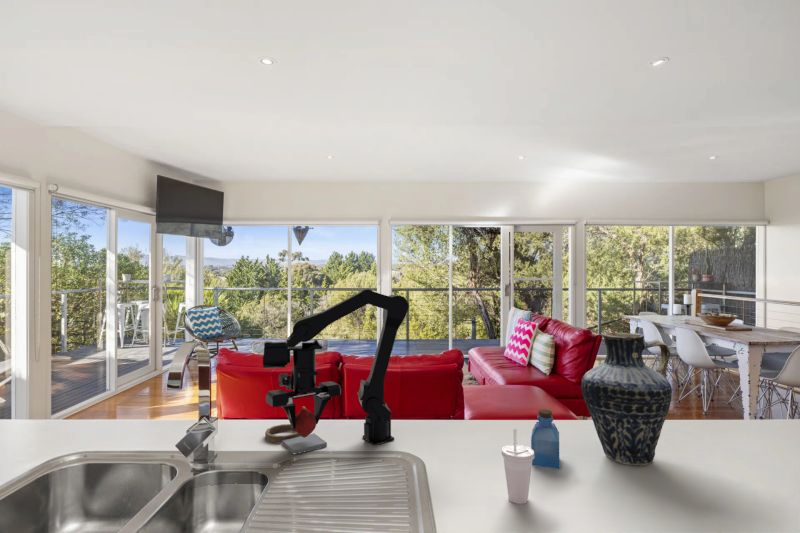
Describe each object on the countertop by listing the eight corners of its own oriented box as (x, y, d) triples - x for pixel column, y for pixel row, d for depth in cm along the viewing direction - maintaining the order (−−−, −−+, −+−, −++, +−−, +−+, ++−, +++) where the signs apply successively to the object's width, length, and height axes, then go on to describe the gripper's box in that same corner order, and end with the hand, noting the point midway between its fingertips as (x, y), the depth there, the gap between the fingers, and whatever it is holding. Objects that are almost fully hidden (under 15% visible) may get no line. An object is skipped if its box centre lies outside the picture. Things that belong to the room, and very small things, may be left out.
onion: (318, 433, 120) (318, 403, 121) (312, 441, 115) (312, 410, 115) (297, 432, 121) (297, 403, 121) (290, 441, 115) (289, 409, 115)
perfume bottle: (559, 458, 109) (558, 408, 109) (559, 469, 103) (559, 416, 103) (532, 454, 111) (532, 406, 111) (531, 465, 105) (530, 413, 106)
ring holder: (294, 427, 131) (294, 421, 131) (307, 437, 123) (307, 431, 123) (261, 434, 126) (261, 428, 126) (272, 445, 118) (272, 439, 118)
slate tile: (314, 436, 124) (314, 433, 124) (326, 446, 117) (326, 442, 117) (282, 444, 119) (282, 440, 119) (293, 454, 112) (293, 450, 112)
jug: (613, 479, 98) (612, 341, 98) (566, 444, 117) (566, 329, 118) (697, 472, 101) (696, 338, 102) (638, 439, 121) (638, 327, 121)
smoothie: (497, 491, 93) (497, 423, 93) (527, 490, 93) (527, 422, 94) (507, 508, 87) (507, 435, 87) (540, 506, 87) (539, 433, 87)
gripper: (323, 357, 130) (324, 411, 130) (258, 365, 119) (259, 425, 119) (341, 363, 121) (342, 422, 121) (273, 373, 110) (273, 437, 110)
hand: (304, 426), depth 118 cm, fingers closed on onion, 6 cm apart
